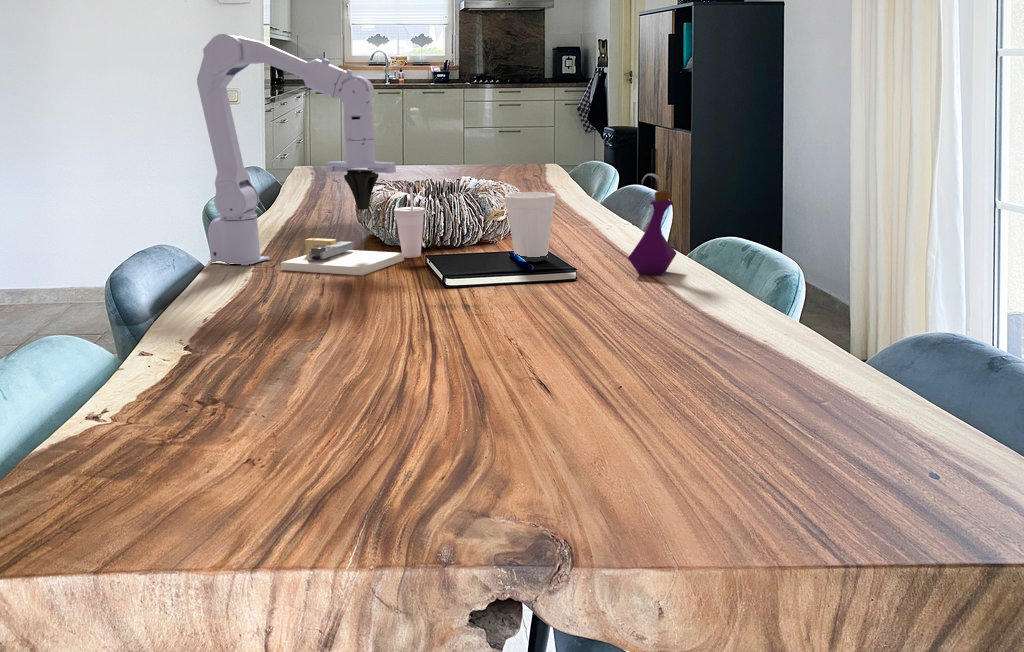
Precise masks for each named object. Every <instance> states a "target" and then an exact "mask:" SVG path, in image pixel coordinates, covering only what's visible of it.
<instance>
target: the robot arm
mask: <svg viewBox="0 0 1024 652" xmlns="http://www.w3.org/2000/svg"><path fill="white" fill-rule="evenodd" d="M202 50H203V51H202V52H203V56H202V60H201V64H200V67H199V70H198V74H197V78H196V84H197V89H198V92H199V98H200V102H201V107H202V112H203V115H204V120H205V123H206V128H207V133H208V137H209V141H210V146H211V150H212V155H213V158H214V164H215V168H216V177H215V180H214V186H215V196H214V208H215V210H216V211H217V212H218V214H219V217H216V218H214V219H212V220H211V222H210V223H209V226H208V232H207V234H208V245H209V255H210V256H209V257H210V259H209V260H208V261H207V262H208V264H213V263H212V262H216V261H222V262H225V263H234V264H241V265H240V266H250V265H253V264H256V263H260V262H265V261H266V260H270V256H263V255H261V251H260V250H261V248H260V238H259V237H260V236H259V224H258V214H257V213H256V211H255V209H256V208H257V206H258V205H259V202H260V201H259V200H260V194H259V192H258V190H257V189H256V187H255V186H254V185H253V183H252V181H251V176H250V174H249V173H248V171H247V170H246V168H245V166H244V162H243V158H242V154H241V148H240V143H239V140H238V136H237V130H236V125H235V121H234V117H233V116H234V115H233V112H232V108H231V103H230V99H229V94H228V90H227V89H228V88H227V87H228V85H229V84H230V83H231V81H232V80H233V79H234V78H235V76H236V75H237V74H238V73H240V72H241V71H243V70H245V69H246V68H247V67H248V66H250V65H251V64H252V65H253V64H254V65H257V64H266V65H267V66H271V67H272V68H276V69H279V70H281V71H284V72H287V73H290V74H292V75H294V76H297V77H300V78H301V79H302V80H303V82H304V85H305V87H307V88H309V89H311V90H313V91H315V92H318V93H320V94H323V95H325V96H327V97H330V98H333V99H335V100H339V99H340V101H341V102H342V103H343V131H344V151H345V160H344V161H343V160H342V161H338V160H337V161H335V160H334V161H333V160H332V161H327V162H326V172H327V173H334V172H335V173H337V172H338V173H339V172H340V173H342V172H344V173H346V174H344V176H343V178H344V181H346V184H347V185H348V186H349V189H350V191H351V193H352V195H353V198H354V201H355V204H356V207H357V210H358V211H359V210H360V211H364V210H368V209H369V208H370V203H371V199H372V198H371V197H372V193H373V190H374V188H375V187H374V186H376V182H377V180H378V179H379V175H380V173H381V174H382V173H383V174H394V173H396V172H397V168H396V167H397V165H396V162H391V161H390V162H386V161H376V146H375V145H376V144H375V129H374V127H375V125H374V115H373V103H372V102H371V101H372V100H373V99H374V95H375V88H374V85H373V83H372V82H371V81H370V80H369V79H368V78H366V77H365V76H363V75H353V73H354V71H353V70H351V69H347V70H345V69H342V68H340V67H339V66H336V65H333V64H332V63H331V64H330V62H331V60H329V59H328V58H322V59H319V58H315V59H312V60H310V61H306V60H304V59H302V58H300V57H297V56H295V55H293V54H290V53H289V52H287V51H284V50H281V49H280V48H278V47H275V46H273V45H270V44H269V43H266V42H265V41H260V40H256V39H252V38H246V37H245V36H243V35H237V34H236V35H231V34H228V33H218V34H217V35H214V36H213V37H212V38H211V39H210V40H209V42H208V43H207V44H206V45H205V46H204V47H203V49H202ZM210 261H211V262H210ZM209 262H210V263H209ZM249 264H250V265H249Z"/></svg>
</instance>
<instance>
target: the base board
mask: <svg viewBox="0 0 1024 652" xmlns="http://www.w3.org/2000/svg"><path fill="white" fill-rule="evenodd" d="M403 261H405V257H404V253H402V252H395V251H393V252H391V251H389V252H388V251H374V250H359V249H358V250H354V249H351V250H348V251H345V252H342V253H339V254H336V255H333V256H330V257H328V258H325V259H312V258H309V256H306V254H304V255H302V256H298V257H295V258H291V259H288V260H284V261H281V262H280V266H281V267H280V269H281V271H288V272H289V271H291V272H292V271H293V272H306V273H307V272H308V273H320V274H321V273H324V274H337V275H338V274H339V275H354V276H365V275H367V274H371V273H373V272H375V271H378V270H381V269H385V268H387V267H389V266H392V265H395V264H399V263H400V262H403Z"/></svg>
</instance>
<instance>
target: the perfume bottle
mask: <svg viewBox="0 0 1024 652" xmlns="http://www.w3.org/2000/svg"><path fill="white" fill-rule="evenodd" d="M648 176H650V177H653V178H654V179H656V180H657V181H658V183H660V186H661V190H657V191H655V192H654V199H652V200H650V205H652V208H653V211H652V215H651V218H650V221H649V223H648V225H647V227H646V229H645V232H644V234H643V235H642V236H641V238H640V240H639V241H638V242H637V244H636V246H635V247H634V248H633V250H632V252H631V253H630V254H629V255H628V258H627V259H628V260H629V262H630V263H631V265H632V267H633V268H634V269H635V271H636V272H637V274H638V275H643V276H663V275H664V274H665V273H666V272H667V270H668V268H669V267H670V265H671V263H672V262H673V261H674V259H675V257H676V256H677V251H676V250H675V249H674V248H673V247H672V246H671V244H670V243H669V242H668V241H667V240H666V238H665V237H664V235H663V234H662V222H663V218H664V215H665V212H666V211H667V210H668V208H669V207H670V206H672V205H673V204H674V202H673V200H671V199H670V197H671V193H672V192H671V191H670V190H665V189H664V187H663V183H662V179H661V178H660V177H659V175H656V174H655V173H646V174H645V175H644V176H643V178H642V180H641V185H642V186H643V184H644V181H645V180H646V178H647V177H648Z"/></svg>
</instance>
